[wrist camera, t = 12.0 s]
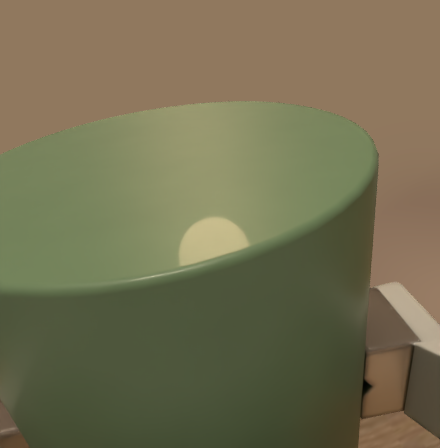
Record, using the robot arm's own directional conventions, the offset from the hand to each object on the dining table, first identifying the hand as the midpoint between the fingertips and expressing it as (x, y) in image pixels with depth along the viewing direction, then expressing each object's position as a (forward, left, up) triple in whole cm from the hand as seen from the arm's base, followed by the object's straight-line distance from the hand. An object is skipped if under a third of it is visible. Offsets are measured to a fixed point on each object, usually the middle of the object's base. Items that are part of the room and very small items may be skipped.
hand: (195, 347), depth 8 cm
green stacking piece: (+1, -1, -5) cm, 6 cm away
